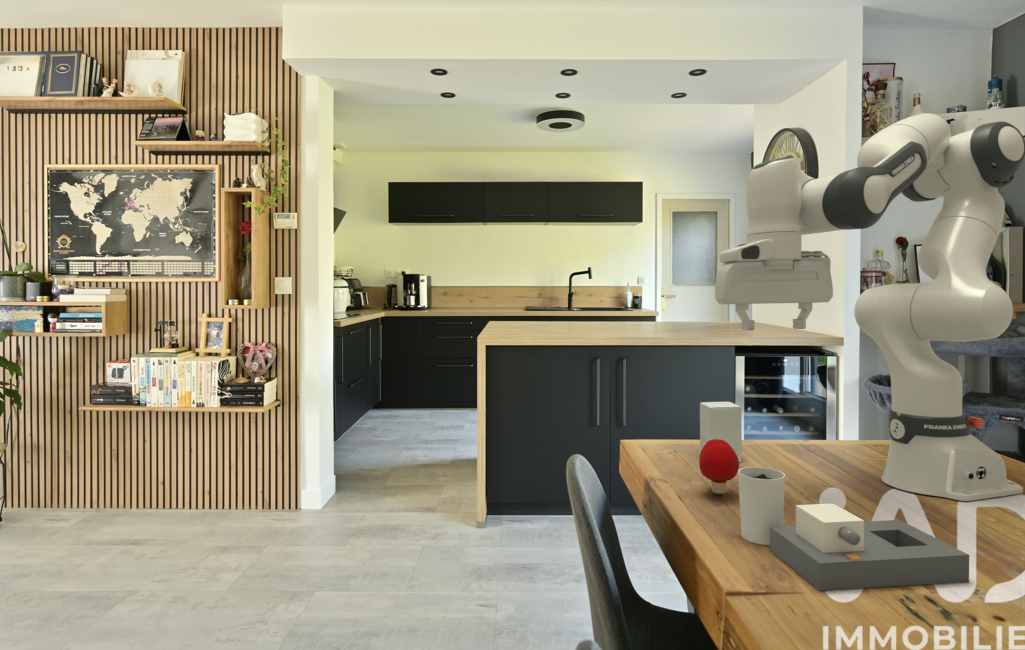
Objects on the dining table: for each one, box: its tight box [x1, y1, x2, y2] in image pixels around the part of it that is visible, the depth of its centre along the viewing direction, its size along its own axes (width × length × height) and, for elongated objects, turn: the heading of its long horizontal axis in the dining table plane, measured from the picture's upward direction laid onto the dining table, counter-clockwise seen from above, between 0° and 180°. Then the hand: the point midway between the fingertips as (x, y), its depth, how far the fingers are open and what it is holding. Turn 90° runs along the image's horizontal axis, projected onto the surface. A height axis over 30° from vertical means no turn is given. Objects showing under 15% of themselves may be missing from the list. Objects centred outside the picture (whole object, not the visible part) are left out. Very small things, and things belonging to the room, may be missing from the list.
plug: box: [795, 502, 865, 553], centre depth 78 cm, size 6×8×7 cm, turn 4°
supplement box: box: [699, 401, 743, 463], centre depth 133 cm, size 7×7×13 cm
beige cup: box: [737, 466, 786, 546], centre depth 89 cm, size 7×7×10 cm
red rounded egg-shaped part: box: [698, 439, 740, 496], centre depth 109 cm, size 9×7×10 cm
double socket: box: [769, 519, 970, 591], centre depth 80 cm, size 20×12×4 cm, turn 94°
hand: (773, 329), depth 103 cm, fingers open, 8 cm apart
